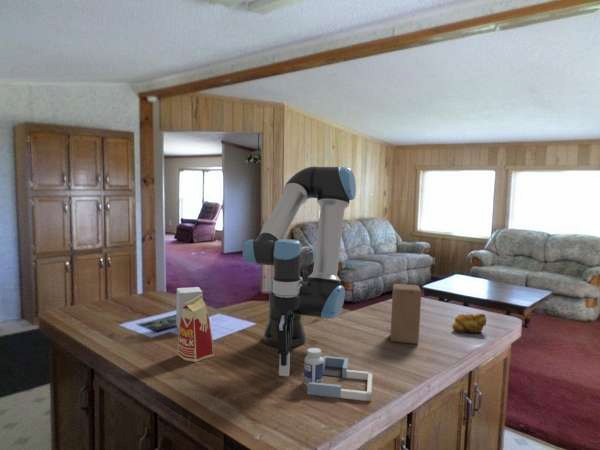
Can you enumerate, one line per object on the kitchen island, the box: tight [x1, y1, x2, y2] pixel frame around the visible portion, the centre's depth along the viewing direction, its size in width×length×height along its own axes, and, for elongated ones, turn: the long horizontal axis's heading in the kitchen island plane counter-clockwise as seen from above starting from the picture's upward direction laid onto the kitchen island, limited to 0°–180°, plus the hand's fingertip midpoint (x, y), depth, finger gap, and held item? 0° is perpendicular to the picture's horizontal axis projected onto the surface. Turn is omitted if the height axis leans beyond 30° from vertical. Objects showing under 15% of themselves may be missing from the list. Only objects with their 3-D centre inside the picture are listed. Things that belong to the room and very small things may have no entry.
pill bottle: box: [303, 347, 324, 387], centre depth 128 cm, size 5×5×10 cm
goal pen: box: [340, 369, 373, 402], centre depth 127 cm, size 8×14×2 cm, turn 170°
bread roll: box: [452, 313, 487, 334], centre depth 181 cm, size 13×10×8 cm
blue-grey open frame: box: [306, 355, 350, 399], centre depth 131 cm, size 10×21×3 cm, turn 170°
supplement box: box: [175, 286, 204, 331], centre depth 175 cm, size 9×9×15 cm
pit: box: [323, 366, 343, 378], centre depth 137 cm, size 6×7×1 cm
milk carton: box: [177, 294, 215, 363], centre depth 146 cm, size 9×9×20 cm
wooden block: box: [390, 283, 422, 345], centre depth 168 cm, size 10×10×20 cm
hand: (284, 374), depth 130 cm, fingers closed
